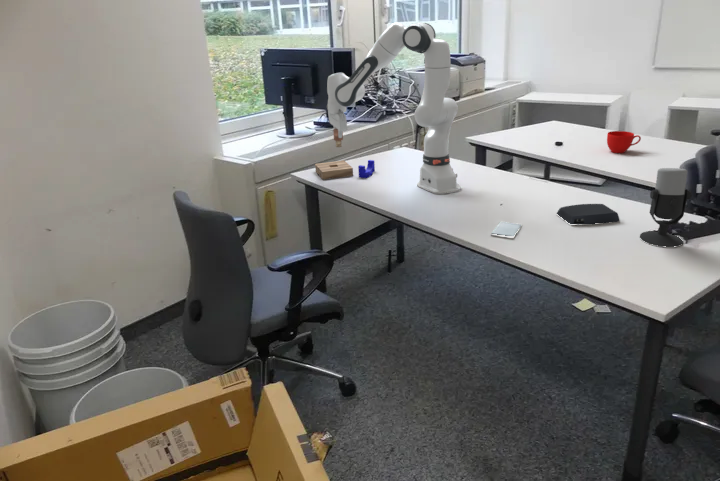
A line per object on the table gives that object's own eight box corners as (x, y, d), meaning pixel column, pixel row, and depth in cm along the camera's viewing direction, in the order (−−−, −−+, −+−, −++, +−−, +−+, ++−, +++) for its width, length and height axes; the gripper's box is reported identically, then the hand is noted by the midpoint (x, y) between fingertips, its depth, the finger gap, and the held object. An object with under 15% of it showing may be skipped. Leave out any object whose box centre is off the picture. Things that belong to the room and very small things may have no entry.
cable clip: (366, 178, 254) (366, 166, 252) (358, 177, 256) (358, 166, 254) (377, 172, 264) (376, 160, 262) (369, 171, 266) (369, 160, 264)
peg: (344, 147, 251) (343, 130, 248) (335, 148, 250) (334, 130, 247) (341, 144, 255) (341, 128, 252) (333, 145, 254) (332, 128, 251)
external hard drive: (554, 215, 200) (556, 205, 199) (601, 211, 202) (603, 201, 200) (571, 227, 188) (572, 217, 187) (620, 223, 190) (622, 213, 188)
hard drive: (514, 236, 180) (521, 224, 189) (491, 233, 183) (499, 220, 193) (513, 240, 180) (521, 228, 190) (490, 237, 184) (499, 224, 194)
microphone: (673, 232, 179) (689, 163, 169) (689, 248, 167) (707, 175, 157) (634, 231, 181) (647, 163, 171) (647, 247, 169) (662, 175, 159)
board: (353, 175, 259) (352, 167, 258) (322, 179, 255) (322, 171, 254) (344, 167, 273) (344, 160, 272) (315, 171, 269) (315, 164, 268)
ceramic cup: (642, 154, 270) (645, 136, 266) (608, 154, 273) (611, 136, 269) (634, 148, 282) (637, 130, 278) (602, 148, 285) (604, 131, 281)
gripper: (349, 111, 237) (350, 140, 243) (337, 103, 254) (339, 131, 260) (336, 112, 235) (337, 141, 241) (325, 104, 253) (327, 132, 259)
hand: (338, 136), depth 251 cm, fingers closed on peg, 5 cm apart
